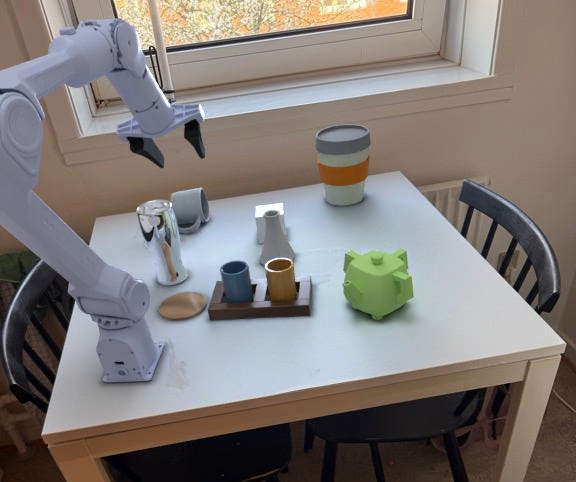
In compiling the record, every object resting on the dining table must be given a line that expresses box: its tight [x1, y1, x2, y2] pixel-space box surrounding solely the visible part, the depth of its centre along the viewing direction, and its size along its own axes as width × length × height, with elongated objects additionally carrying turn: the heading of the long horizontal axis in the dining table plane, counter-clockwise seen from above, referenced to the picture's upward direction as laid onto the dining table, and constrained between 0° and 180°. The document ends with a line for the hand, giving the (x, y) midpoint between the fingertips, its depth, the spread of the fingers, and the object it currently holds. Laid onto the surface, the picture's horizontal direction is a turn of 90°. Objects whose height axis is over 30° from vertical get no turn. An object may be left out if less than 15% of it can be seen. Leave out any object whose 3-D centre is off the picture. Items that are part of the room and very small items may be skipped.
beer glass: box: [135, 199, 189, 286], centre depth 107 cm, size 7×7×15 cm
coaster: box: [158, 291, 208, 321], centre depth 103 cm, size 9×9×1 cm
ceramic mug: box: [168, 187, 210, 235], centre depth 128 cm, size 11×8×8 cm
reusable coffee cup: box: [314, 123, 372, 207], centre depth 128 cm, size 13×13×15 cm
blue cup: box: [219, 260, 255, 303], centre depth 99 cm, size 5×5×8 cm
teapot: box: [341, 248, 415, 321], centre depth 93 cm, size 12×12×10 cm
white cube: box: [254, 202, 287, 244], centre depth 119 cm, size 6×6×6 cm
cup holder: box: [207, 275, 313, 321], centre depth 100 cm, size 10×18×2 cm, turn 86°
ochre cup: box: [264, 258, 298, 301], centre depth 98 cm, size 5×5×8 cm
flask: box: [259, 210, 296, 266], centre depth 109 cm, size 7×7×10 cm
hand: (182, 158), depth 95 cm, fingers open, 7 cm apart
